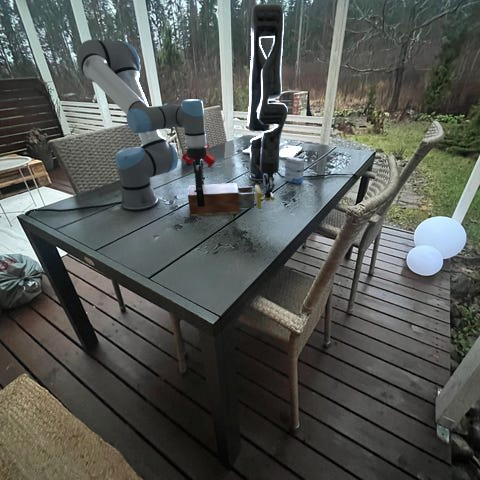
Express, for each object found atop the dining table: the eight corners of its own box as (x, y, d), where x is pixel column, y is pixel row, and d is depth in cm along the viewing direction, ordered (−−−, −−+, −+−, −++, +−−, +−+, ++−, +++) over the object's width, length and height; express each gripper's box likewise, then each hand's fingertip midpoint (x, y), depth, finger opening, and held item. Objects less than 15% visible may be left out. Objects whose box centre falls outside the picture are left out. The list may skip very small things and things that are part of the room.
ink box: (302, 181, 142) (305, 159, 136) (297, 184, 139) (300, 161, 133) (289, 177, 147) (291, 156, 141) (284, 180, 144) (285, 158, 138)
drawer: (270, 199, 121) (271, 183, 117) (274, 208, 114) (276, 192, 110) (215, 202, 119) (214, 186, 115) (215, 212, 112) (214, 195, 108)
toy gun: (219, 159, 165) (203, 138, 161) (216, 161, 162) (200, 139, 158) (199, 174, 175) (184, 155, 171) (196, 176, 172) (181, 156, 168)
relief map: (291, 159, 177) (291, 151, 174) (243, 153, 190) (243, 145, 187) (302, 149, 197) (303, 142, 194) (258, 144, 211) (258, 137, 208)
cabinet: (236, 202, 121) (236, 182, 116) (239, 213, 112) (238, 192, 107) (191, 205, 120) (189, 185, 115) (190, 216, 111) (187, 195, 106)
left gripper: (187, 139, 111) (193, 190, 123) (184, 155, 91) (191, 213, 103) (206, 138, 111) (210, 189, 123) (206, 154, 92) (210, 212, 104)
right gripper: (257, 155, 112) (256, 194, 122) (263, 164, 101) (261, 207, 110) (275, 154, 113) (272, 193, 122) (283, 164, 102) (279, 206, 111)
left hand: (201, 200), depth 113 cm, fingers closed on cabinet, 10 cm apart
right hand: (267, 199), depth 116 cm, fingers closed
